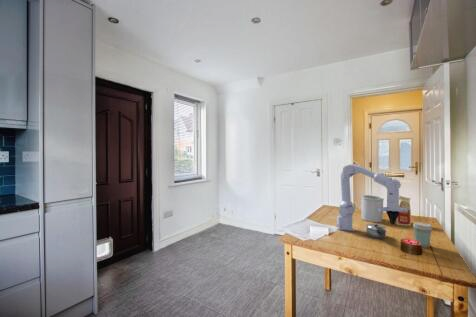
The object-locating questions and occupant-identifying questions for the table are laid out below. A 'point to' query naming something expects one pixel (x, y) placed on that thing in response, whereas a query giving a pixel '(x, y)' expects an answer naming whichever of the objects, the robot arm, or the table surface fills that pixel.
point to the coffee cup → (422, 233)
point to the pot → (375, 234)
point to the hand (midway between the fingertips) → (392, 223)
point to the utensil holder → (371, 208)
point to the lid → (377, 228)
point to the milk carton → (404, 217)
